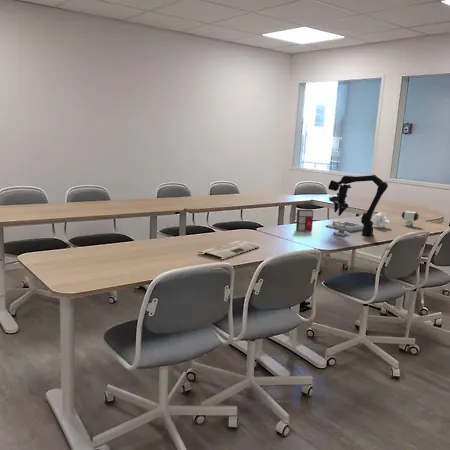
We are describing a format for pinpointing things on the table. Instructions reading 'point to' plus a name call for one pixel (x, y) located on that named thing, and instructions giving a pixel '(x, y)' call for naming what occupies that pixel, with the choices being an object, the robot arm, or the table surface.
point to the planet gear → (341, 231)
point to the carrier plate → (346, 226)
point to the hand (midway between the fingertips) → (337, 213)
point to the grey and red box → (304, 220)
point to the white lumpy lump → (380, 220)
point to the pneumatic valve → (410, 217)
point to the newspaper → (231, 249)
